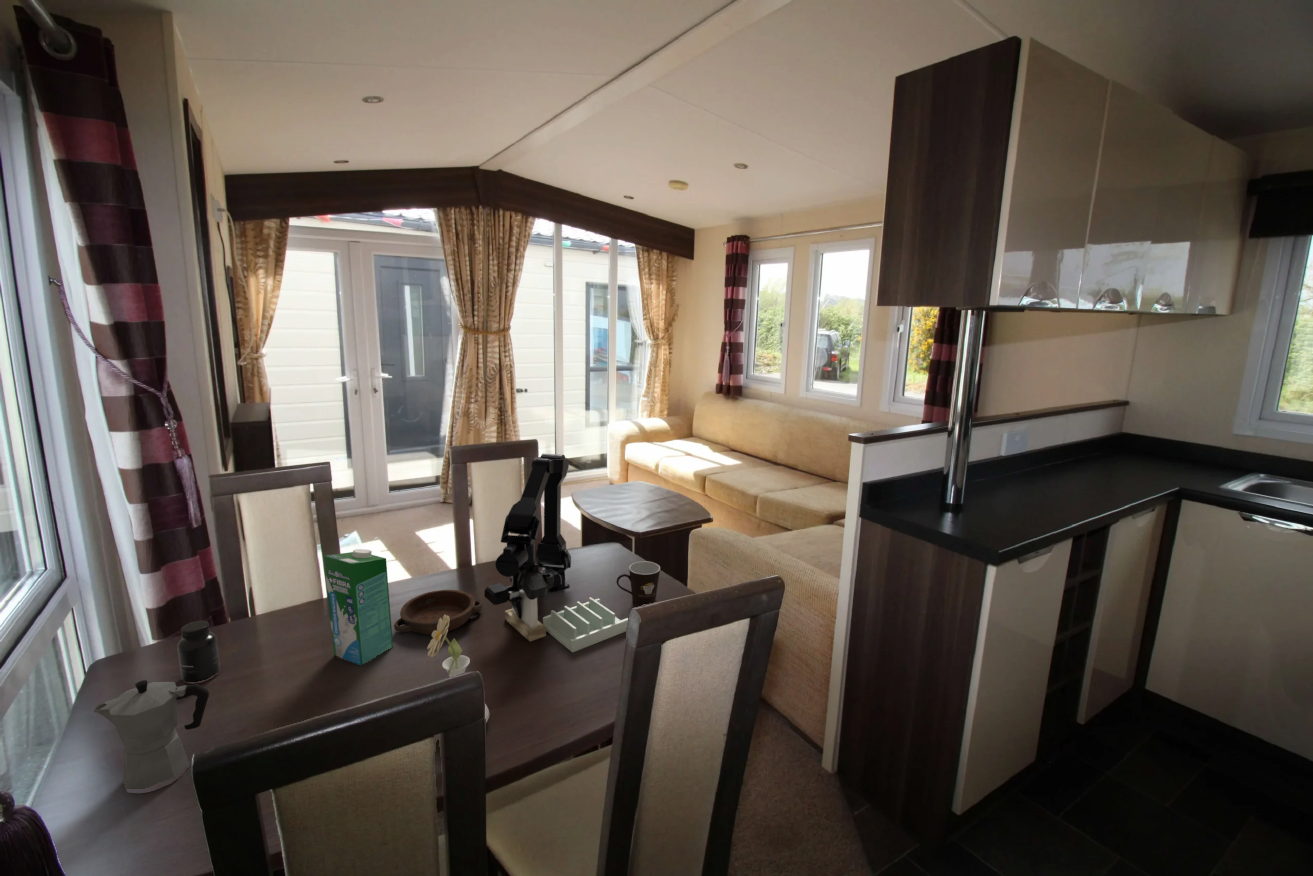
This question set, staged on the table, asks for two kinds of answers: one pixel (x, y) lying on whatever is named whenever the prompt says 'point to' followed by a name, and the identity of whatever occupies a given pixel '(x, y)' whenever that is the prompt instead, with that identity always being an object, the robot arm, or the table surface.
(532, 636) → the stand
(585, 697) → the table surface
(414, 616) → the dish
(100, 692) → the table surface
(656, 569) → the coffee mug
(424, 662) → the table surface
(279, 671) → the table surface
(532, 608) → the white slab
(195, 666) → the supplement bottle
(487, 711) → the flower in vase
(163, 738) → the coffeepot
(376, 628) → the milk carton
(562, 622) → the rack
